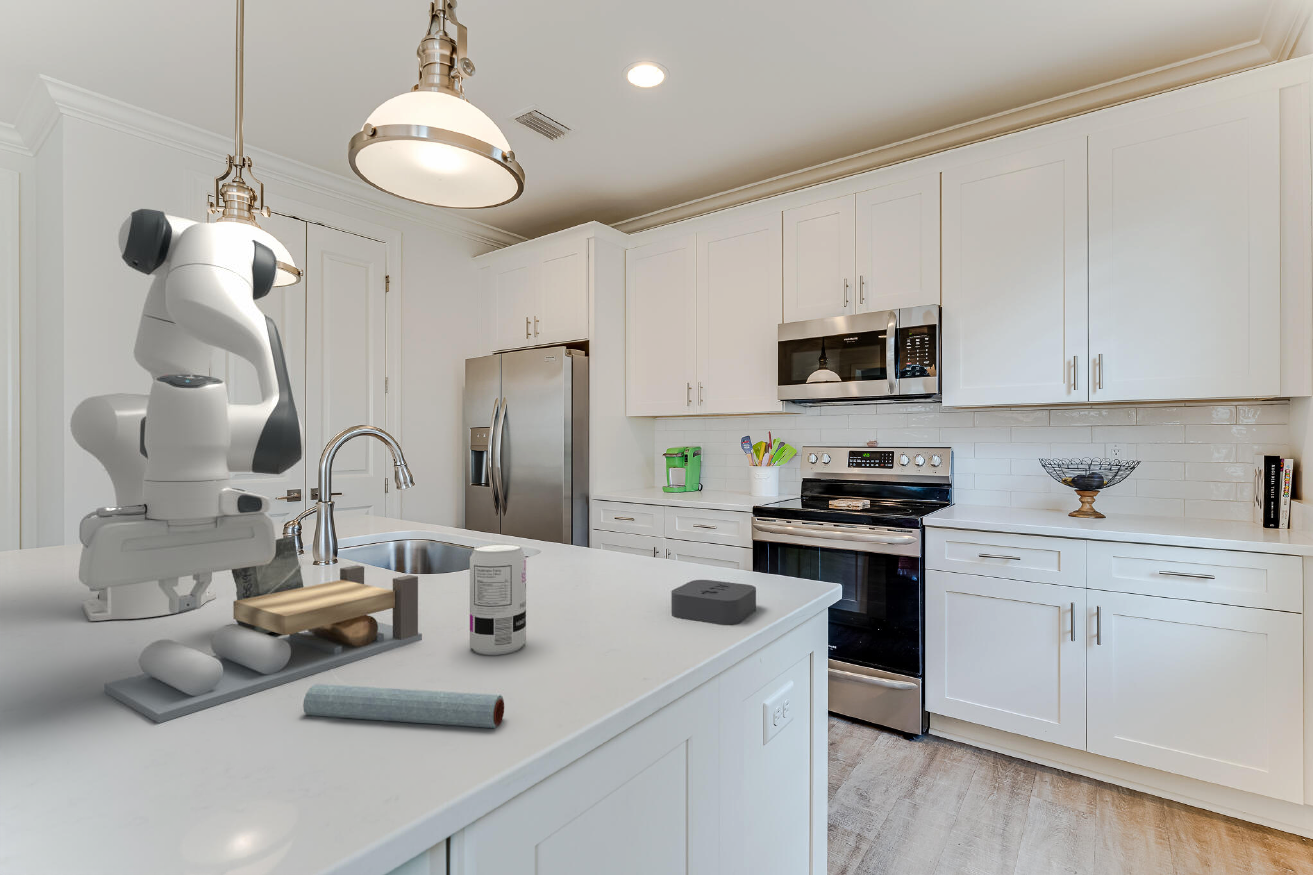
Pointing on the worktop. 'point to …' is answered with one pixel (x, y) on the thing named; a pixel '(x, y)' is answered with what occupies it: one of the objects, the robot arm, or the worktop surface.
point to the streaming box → (713, 602)
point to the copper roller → (350, 630)
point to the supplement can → (497, 598)
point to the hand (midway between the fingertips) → (184, 610)
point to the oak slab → (312, 606)
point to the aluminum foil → (405, 705)
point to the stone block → (270, 576)
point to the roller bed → (249, 679)
